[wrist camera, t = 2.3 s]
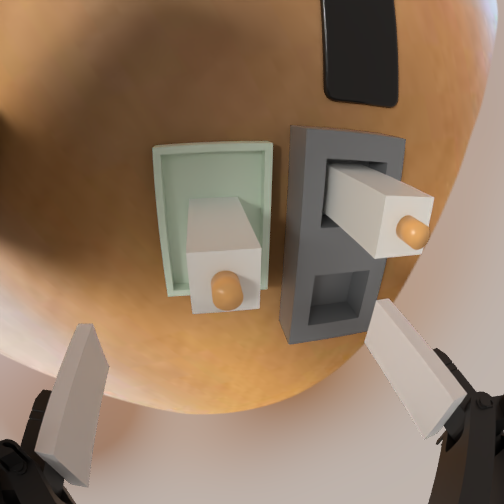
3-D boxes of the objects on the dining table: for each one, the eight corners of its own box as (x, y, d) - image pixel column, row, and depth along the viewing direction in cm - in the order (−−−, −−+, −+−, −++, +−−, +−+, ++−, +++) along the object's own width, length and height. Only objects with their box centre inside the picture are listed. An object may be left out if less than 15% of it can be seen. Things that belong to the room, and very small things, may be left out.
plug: (192, 243, 26) (193, 330, 16) (189, 199, 24) (185, 267, 14) (237, 240, 27) (264, 324, 17) (237, 196, 25) (267, 261, 15)
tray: (169, 286, 28) (168, 296, 27) (155, 145, 23) (152, 147, 21) (263, 279, 30) (267, 289, 28) (267, 140, 24) (273, 143, 22)
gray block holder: (278, 319, 33) (315, 412, 22) (290, 125, 24) (367, 143, 13) (352, 309, 34) (405, 387, 23) (380, 133, 25) (480, 161, 14)
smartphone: (394, 108, 25) (386, -29, 17) (399, 109, 24) (390, -32, 17) (321, 100, 24) (314, -48, 16) (325, 100, 23) (317, -52, 15)
